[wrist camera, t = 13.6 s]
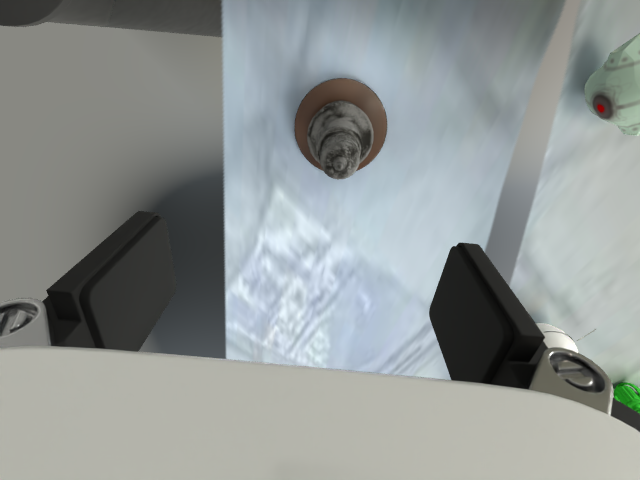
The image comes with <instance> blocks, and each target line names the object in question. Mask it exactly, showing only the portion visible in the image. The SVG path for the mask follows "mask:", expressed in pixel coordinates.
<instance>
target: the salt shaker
mask: <svg viewBox="0 0 640 480" xmlns="http://www.w3.org/2000/svg"><path fill="white" fill-rule="evenodd" d="M307 142H308V147H309V150H310V152H311V154H312V155H313V157H314V158H315V160H316V161H318V162H319V163H320V164H321V167H322V169H323V171H324V172H325V174H327V175H328V176H329V177H331V178H333V179H345V178H348V177H350V176H351V175H353V173H354V172H355V171H356V170H357V168H358V166H359V164H360V163H361V162H362V161H363V160H364V159H365V158H366V157H367V156H368V154H369V152H370V150H371V148H372V144H373V128H372V124H371V122H370V120H369V118H368V116H367V115H366V114H365V113H364V112H363V111H362V110H361V109H360V108H358V107H357V106H356V105H354V104H353V103H351V102H347V101H334V102H331V103H329V104H327V105H326V106H324V107H323V108H322V109H321V110H319V111H318V112H317V113H316V114H315V116H314V117H313V118H312V120H311V122H310V125H309V127H308V132H307Z"/></svg>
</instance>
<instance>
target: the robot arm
mask: <svg viewBox="0 0 640 480" xmlns="http://www.w3.org/2000/svg"><path fill="white" fill-rule="evenodd" d="M172 260H173V259H172V253H171V248H170V241H169V235H168V229H167V224H166V220H165V219H164V218H161V216H160V214H158V213H154V212H144V211H138V212H137V213H135V214H134V215H133V216H132V217H131V218H130V219H129V220H127V221H126V222H125V223H124V224H123V225H122V226H120V227H119V228H118V229H117V230H116V231H115V232H113V233H112V234H111V235H110V236H109V237H108V238H106V239H105V240H104V241H103V242H102V243H101V244H100V245H98V246H97V247H96V248H95V249H94V250H93V251H91V252H90V253H89V254H88V255H87V256H86V257H84V259H82V260H81V261H80V262H79V263H78V264H76V265H75V266H74V267H73V268H72V269H71V270H69V271H68V272H67V273H66V274H65V275H64V276H63V277H61V278H60V279H59V280H58V281H57V282H56V283H54V284H53V285H52V286H51V287H50V288H49V289H47V290H46V291H47V293H48V295H49V296H48V297H47V298H46V299H45V300H43V301H42V302H41V301H39V300H38V299H33V298H18V299H12V300H8V301H4V302H1V303H0V480H640V413H638V412H636V411H635V410H633V409H631V408H630V407H628V406H626V405H625V404H623V403H621V402H619V401H618V400H616V399H614V398H613V384H612V382H611V380H610V379H609V377H608V375H607V374H606V373H605V372H604V371H603V370H602V369H601V368H600V367H599V366H598V365H596V364H595V363H594V362H593V361H591V360H590V359H588V358H586V357H585V356H583V355H581V354H579V353H577V352H575V351H572V350H569V349H565V348H561V347H552V348H548V347H547V346H546V344H545V343H544V341H543V340H544V338H545V336H544V335H543V333H542V332H541V330H540V329H539V328H538V326H537V325H536V323H535V322H534V321H533V319H532V318H531V316H530V315H529V314H528V312H527V311H526V310H525V308H524V307H523V305H522V304H521V303H520V301H519V300H518V298H517V297H516V296H515V294H514V293H513V291H512V290H511V289H510V287H509V286H508V285H507V283H506V282H505V280H504V279H503V278H502V276H501V275H500V273H499V272H498V271H497V269H496V268H495V267H494V265H493V264H492V262H491V261H490V260H489V258H488V257H487V255H486V254H485V253H484V251H483V250H482V248H481V247H480V246H479V245H478V244H469V243H458V244H457V246H453V247H452V248H451V250H450V252H449V255H448V258H447V261H446V263H445V266H444V269H443V272H442V275H441V278H440V281H439V283H438V286H437V289H436V292H435V295H434V298H433V301H432V303H431V306H430V311H429V315H430V320H431V323H432V326H433V328H434V331H435V334H436V337H437V340H438V343H439V346H440V348H441V351H442V354H443V357H444V360H445V363H446V366H447V368H448V371H449V374H450V377H451V380H444V379H435V378H424V377H414V376H404V375H393V374H383V373H372V372H362V371H352V370H341V369H330V368H319V367H308V366H297V365H286V364H275V363H264V362H253V361H242V360H230V359H219V358H206V357H195V356H183V355H172V354H159V353H148V352H138V351H139V349H140V348H141V346H142V345H143V343H144V342H145V340H146V338H147V337H148V335H149V334H150V332H151V330H152V329H153V327H154V326H155V324H156V322H157V321H158V319H159V318H160V316H161V315H162V313H163V311H164V310H165V308H166V307H167V305H168V304H169V302H170V300H171V299H172V297H173V296H174V294H175V291H176V278H175V273H174V266H173V261H172Z"/></svg>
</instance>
